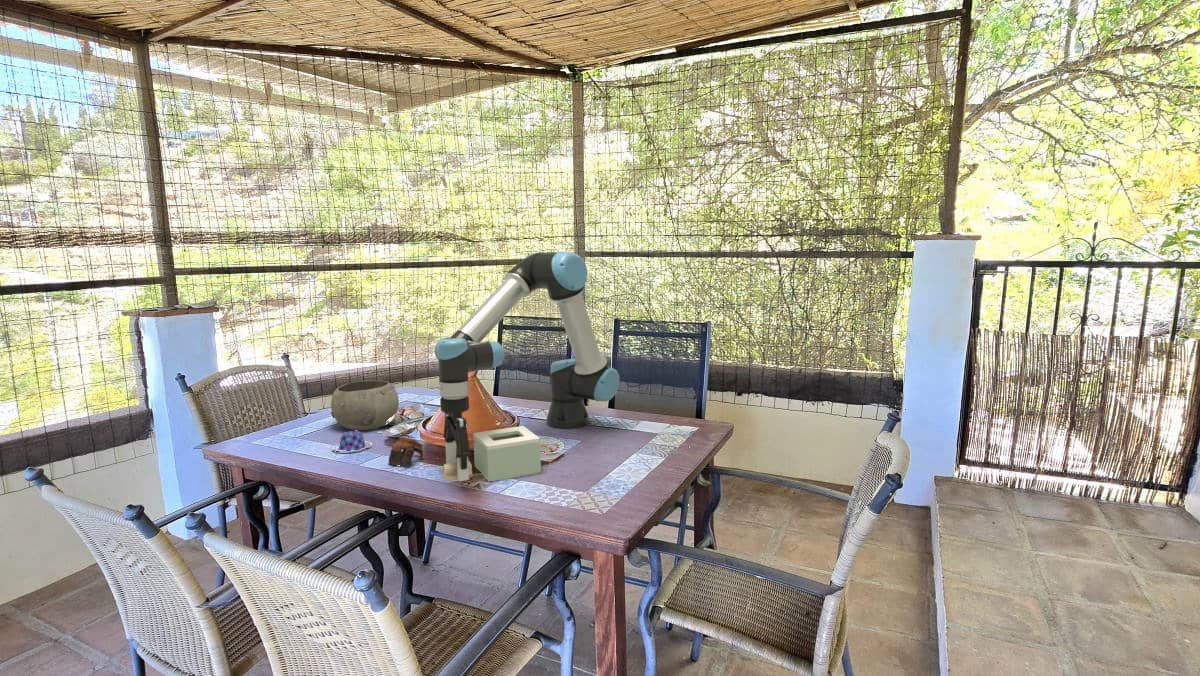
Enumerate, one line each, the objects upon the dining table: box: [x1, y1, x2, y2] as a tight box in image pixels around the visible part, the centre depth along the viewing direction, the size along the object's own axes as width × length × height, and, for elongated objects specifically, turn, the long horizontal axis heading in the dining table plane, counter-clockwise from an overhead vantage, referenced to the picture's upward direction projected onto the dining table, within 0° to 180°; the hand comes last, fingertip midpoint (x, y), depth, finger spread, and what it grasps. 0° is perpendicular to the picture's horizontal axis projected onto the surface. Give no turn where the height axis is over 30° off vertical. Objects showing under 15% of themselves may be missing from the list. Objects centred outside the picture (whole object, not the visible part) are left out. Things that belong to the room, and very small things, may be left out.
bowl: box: [330, 379, 400, 431], centre depth 220 cm, size 23×23×15 cm
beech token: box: [443, 460, 473, 482], centre depth 167 cm, size 7×4×4 cm, turn 111°
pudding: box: [332, 430, 373, 454], centre depth 195 cm, size 12×12×5 cm
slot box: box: [472, 425, 542, 483], centre depth 173 cm, size 15×14×10 cm
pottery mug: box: [388, 437, 424, 466], centre depth 181 cm, size 12×10×8 cm
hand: (457, 472), depth 167 cm, fingers open, 13 cm apart
